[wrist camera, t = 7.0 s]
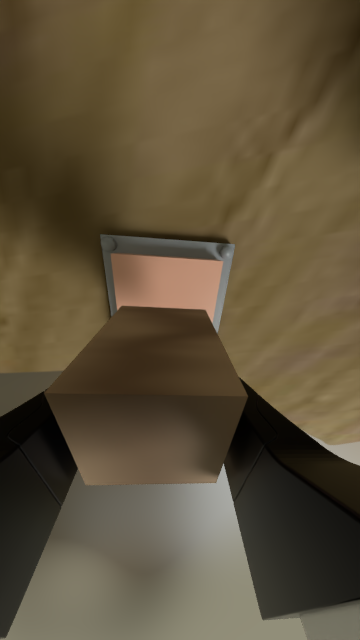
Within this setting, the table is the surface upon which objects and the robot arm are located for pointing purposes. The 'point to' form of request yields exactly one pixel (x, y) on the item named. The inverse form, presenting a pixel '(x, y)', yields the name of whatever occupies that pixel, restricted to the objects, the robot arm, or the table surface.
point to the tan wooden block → (150, 399)
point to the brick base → (167, 249)
